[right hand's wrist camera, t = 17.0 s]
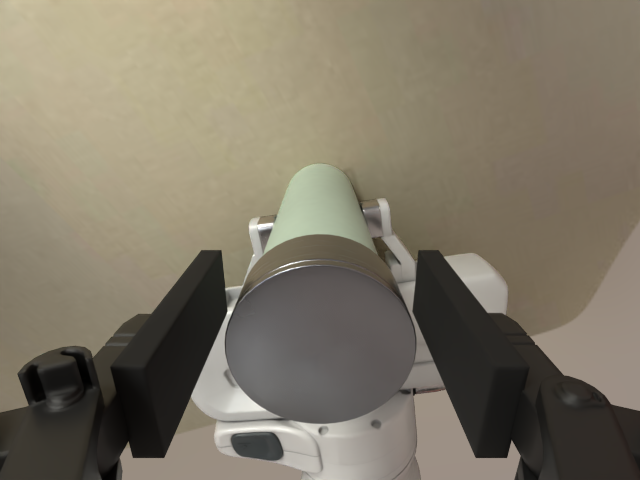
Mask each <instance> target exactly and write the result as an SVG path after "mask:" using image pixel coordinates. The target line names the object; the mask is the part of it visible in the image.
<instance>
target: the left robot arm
mask: <svg viewBox="0 0 640 480" xmlns="http://www.w3.org/2000/svg"><path fill="white" fill-rule="evenodd" d="M360 208H361V211H362V213H363V216H364V219H365V221H366V224H367V227H368V229H369V232H370V235H371V237H372V238H376V237H381V238H382V240H383V241H384V242H385V244H386V245H387V246H388V247H389V249H390V250H388V251H386V252H385V262H386V265H387V266H388V267H389V269H390V270H391V272H392V274H393V276H394V278H395V280H396V282H397V285H398V287H399V289H400V292H401V294H402V296H403V299H404V301H405V304H406V306H407V308H408V311H409V313H410V315H411V318H412V321H413V324H414V327H415V332H416V342H417V349H416V356H415V360H414V364H413V367H412V370H411V372H410V374H409V376H408V378H407V380H406V381H405V383H404V384H403V386H402V387H401V388H400V390H399V391H398V392H397V393H396V394H395V395H394V396H393V397H392V398H391V399H390V400H389V401H387V402H386V403H385V404H383V405H382V406H380V407H379V408H378V409H376V410H374V411H372V412H370V413H368V414H366V415H363V416H361V417H358V418H356V419H352V420H349V421H344V422H339V423H330V424H310V423H302V422H297V421H293V420H289V419H286V418H283V417H280V416H278V415H275V414H273V413H271V412H269V411H267V410H266V409H264V408H262V407H261V406H259V405H258V404H256V403H255V402H254V401H253V400H251V399H250V398H249V397H248V396H247V395H246V394H245V393H244V392H243V391H242V389H241V388H240V387H239V385H238V384H237V383H236V381H235V379H234V377H233V376H232V374H231V371H230V369H229V366H228V363H227V359H226V355H225V333H226V329H227V325H228V322H229V319H230V317H231V314H232V312H233V309H234V307H235V305H236V302H237V300H238V297H239V295H240V292H241V290H242V288H243V285H244V283H245V280H246V278H247V276H248V274H249V272H250V271H251V269H252V267H253V266H254V265H255V264H256V262H257V261H258V260H259V259H260V258H261V257H262V256H263V253H264V250H265V247H266V245H267V242H268V239H269V237H270V234H271V231H272V228H273V226H274V223H275V220H276V218H277V215H271V216H264V217H256V218H252V219H251V221H250V223H249V234H250V238H251V242H252V246H253V250H254V254H253V256H252V259H251V262H250V265H249V268H248V271H247V274H246V277H245V279H244V282H243V285H242V286H235V287H228V288H225V290H226V300H227V310H228V312H227V315H226V317H225V319H224V322H223V324H222V326H221V328H220V331H219V333H218V335H217V338H216V340H215V342H214V345H213V347H212V349H211V351H210V354H209V356H208V358H207V361H206V363H205V365H204V367H203V370H202V372H201V374H200V377H199V379H198V381H197V384H196V386H195V388H194V390H193V393H192V395H191V398H192V400H193V401H194V403H195V404H196V405H197V407H198V408H199V409H200V410H201V411H202V412H204V413H205V414H206V415H208V416H209V417H212V418H214V419H217V422H216V428H215V434H214V440H215V444H216V446H217V448H218V450H219V451H220V452H221V453H222V454H224V455H227V456H231V457H238V458H247V459H255V460H261V461H268V462H273V463H277V464H281V465H285V466H289V467H292V468H295V469H298V470H301V471H302V476H301V480H421V478H420V471H419V467H418V463H417V460H416V458H415V453H416V446H417V431H416V420H415V408H414V399H413V396H414V395H415V394H421V393H429V392H437V391H441V390H445V389H446V388H445V386H444V384H443V381H442V379H441V377H440V374H439V372H438V370H437V367H436V365H435V363H434V361H433V358H432V356H431V354H430V351H429V349H428V347H427V345H426V342H425V340H424V338H423V335H422V333H421V331H420V328H419V326H418V324H417V322H416V319H415V317H414V315H413V312H412V310H413V300H414V290H415V281H416V271H417V262H418V260H417V261H414V259H413V257H412V256H411V254H410V252H409V251H408V249H407V247H406V246H405V245H404V243H403V242H402V241H401V239H400V238H399V237H398V236H397V234H396V233H395V232H394V231H393V229H392V226H391V215H390V208H389V204H388V202H387V200H386V199H385V198H380V199H373V200H367V201H361V202H360ZM444 258H445V259H446V261H447V262H448V263H449V264H450V266H451V267H452V268H453V270H454V271H455V272H456V273H457V275H458V276H459V277H460V278H461V280H462V281H463V282H464V283H465V285H466V286H467V287H468V289H469V290H470V291H471V292H472V294H473V295H474V296H475V297H476V299H477V300H478V301H479V303H480V304H481V305H482V306H483V308H484V309H485V310H486V311H487V313H503V314H504V315H506V312H507V303H508V286H507V283H506V282H505V280H504V278H503V277H502V276H501V275H500V273H499V272H498V271H497V270H496V269H495V268H494V267H493V266H492V265H490V264H489V263H488V262H487V261H486V260H484V259H483V258H482V257H480V256H479V255H477V254H475V253H465V254H458V255H451V256H444Z"/></svg>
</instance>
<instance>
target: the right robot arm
mask: <svg viewBox="0 0 640 480" xmlns="http://www.w3.org/2000/svg"><path fill="white" fill-rule="evenodd" d="M227 312H228V310H227V300H226V290H225V281H224V271H223V262H222V252H221V250H201V252H200V253H199V254H198V256H197V257H196V258H195V259H194V261H193V262H192V263H191V264H190V266H189V267H188V268H187V270H186V271H185V272H184V273H183V275H182V276H181V277H180V278H179V280H178V281H177V282H176V283H175V285H174V286H173V287H172V289H171V290H170V291H169V292H168V294H167V295H166V296H165V297H164V299H163V300H162V301H161V303H160V304H159V305H158V306H157V308H156V309H155V310H154V311H153V313H152V314H138V315H136V316H135V317H133V318H131V319H130V320H128V321H127V322H125V323H123V325H122V326H121V327H120V328H119V329H118V330H117V331H116V333H115V334H114V336H113V337H111V338H110V339H109V340H108V342H107V343H106V345H105V346H103V347H102V348H101V350H100V351H99V352H98V353H97V354H96V355H95V356H94V358H92V354H91V351H90V350H88V349H87V348H85V347H80V346H70V347H62V348H58V349H55V350H52V351H48V352H46V353H44V354H42V355H40V356H38V357H36V358H34V359H33V360H31V361H30V362H29V363H27V364H26V365H24V366H23V368H22V369H21V370H20V371H19V373H18V377H19V380H20V382H21V385H22V388H23V390H24V393H25V396H26V399H27V401H28V404H29V406H27V407H24V408H19V409H15V410H10V411H6V412H1V413H0V480H122V466H121V461H120V455H121V453H122V452H123V450H124V448H125V446H126V445H127V443H128V441H129V444H130V448H131V452H132V456H133V458H164V457H165V455H166V453H167V450H168V448H169V446H170V443H171V441H172V439H173V436H174V434H175V432H176V430H177V427H178V425H179V423H180V420H181V418H182V416H183V413H184V411H185V409H186V407H187V404H188V402H189V400H190V397H191V395H192V393H193V390H194V388H195V386H196V384H197V381H198V379H199V377H200V374H201V372H202V370H203V367H204V365H205V363H206V361H207V358H208V356H209V354H210V351H211V349H212V347H213V345H214V342H215V340H216V338H217V335H218V333H219V331H220V328H221V326H222V324H223V322H224V319H225V317H226V315H227ZM412 312H413V315H414V317H415V319H416V322H417V324H418V326H419V328H420V331H421V333H422V335H423V338H424V340H425V342H426V345H427V347H428V349H429V351H430V354H431V356H432V358H433V361H434V363H435V365H436V367H437V370H438V372H439V374H440V377H441V379H442V381H443V384H444V386H445V388H446V390H447V393H448V395H449V397H450V400H451V402H452V404H453V407H454V409H455V411H456V413H457V416H458V418H459V420H460V423H461V425H462V427H463V430H464V432H465V434H466V436H467V439H468V441H469V443H470V446H471V448H472V450H473V452H474V455H475V457H476V458H507V456H508V452H509V448H510V444H511V440H512V441H513V443H514V444H515V446H516V448H517V450H518V452H519V453H520V455H521V457H520V461H519V465H518V469H517V472H516V476H515V480H640V411H637V410H632V409H628V408H624V407H619V406H615V405H611V404H610V402H609V401H608V399H607V398H606V397H605V395H603V394H602V393H601V392H600V391H598V390H597V389H596V388H595V387H593V386H591V385H589V384H587V383H586V382H584V381H582V380H579V379H576V378H573V377H570V376H564V375H563V374H562V373H561V372H560V371H559V369H558V368H557V367H556V366H555V365H554V364H553V363H552V362H551V360H550V359H549V358H548V357H547V356H546V355H545V354H544V352H543V351H542V350H541V349H540V348H539V347H538V346H537V345H535V342H534V341H533V340H532V339H531V338H530V337H529V336H527V333H526V332H525V331H524V330H523V329H522V328H521V326H520V325H519V324H518V323H517V322H516V321H514V320H512V319H511V318H509V317H508V316H506V315H504V314H503V313H487V311H486V310H485V309H484V308H483V306H482V305H481V304H480V303H479V301H478V300H477V299H476V297H475V296H474V295H473V294H472V292H471V291H470V290H469V289H468V287H467V286H466V285H465V283H464V282H463V281H462V280H461V278H460V277H459V276H458V275H457V273H456V272H455V271H454V270H453V268H452V267H451V266H450V264H449V263H448V262H447V261H446V259H445V258H444V257H443V256H442V254H441V253H440V252H439V250H419V252H418V262H417V271H416V281H415V290H414V300H413V310H412Z"/></svg>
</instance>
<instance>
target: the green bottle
mask: <svg viewBox="0 0 640 480" xmlns="http://www.w3.org/2000/svg"><path fill="white" fill-rule="evenodd" d="M313 234H329V235H336V236H341V237H345V238H348V239H351V240H354V241H356V242H358V243H361V244H362V245H364V246H366V247H367V248H369V249H371V250H372V251H373V252H374V253H376V254H377V255H378V253H377V251H376V248H375V245H374V243H373V240H372V237H371V235H370V232H369V229H368V227H367V224H366V221H365V219H364V216H363V213H362V211H361V208H360V205H359V203H358V200H357V197H356V195H355V192H354V189H353V187H352V184H351V182H350V180H349V179H348V177H347V176H346V175H345V174H344V173H343V172H342V171H341V170H340V169H338V168H336V167H334V166H332V165H329V164H320V163H319V164H312V165H309V166H306V167H304V168H302V169H301V170H299V171H298V172H297V173H296V174H295V175H294V176H293V178H292V179H291V181H290V183H289V185H288V188H287V190H286V193H285V196H284V199H283V201H282V204H281V207H280V209H279V212H278V215H277V218H276V220H275V223H274V226H273V228H272V231H271V234H270V237H269V239H268V242H267V245H266V247H265V250H264V253H263V255H264V254H265V253H266V252H268V251H269V250H271V249H272V248H274V247H275V246H277V245H279V244H281V243H283V242H285V241H287V240H290V239H293V238H296V237H300V236H305V235H313Z"/></svg>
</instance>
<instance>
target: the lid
mask: <svg viewBox="0 0 640 480" xmlns="http://www.w3.org/2000/svg"><path fill="white" fill-rule="evenodd" d="M416 349H417V342H416V332H415V327H414V324H413V321H412V318H411V315H410V313H409V311H408V308H407V306H406V304H405V301H404V299H403V296H402V294H401V292H400V289H399V287H398V285H397V282H396V280H395V278H394V276H393V274H392V272H391V270H390V269H389V267H388V266H387V265H386V263H385V262H384V261H383V260H382V259H381V258H380V257H379V256H378V255H377V254H376V253H374V252H373V251H372V250H371V249H369V248H367V247H366V246H364V245H362V244H361V243H358V242H356V241H354V240H351V239H348V238H345V237H341V236H336V235H329V234H313V235H305V236H300V237H296V238H293V239H290V240H287V241H285V242H283V243H281V244H279V245H277V246H275V247H274V248H272V249H271V250H269V251H268V252H266V253H265V254H264V255H263V256H262V257H261V258H260V259H259V260H258V261H257V262H256V264H255V265H254V266H253V267H252V269H251V271H250V272H249V274H248V276H247V278H246V280H245V283H244V285H243V288H242V290H241V292H240V295H239V297H238V300H237V302H236V305H235V307H234V309H233V312H232V314H231V317H230V319H229V322H228V325H227V329H226V333H225V355H226V359H227V363H228V366H229V369H230V371H231V374H232V376H233V377H234V379H235V381H236V383H237V384H238V385H239V387H240V388H241V389H242V391H243V392H244V393H245V394H246V395H247V396H248V397H249V398H250V399H251V400H253V401H254V402H255V403H256V404H258V405H259V406H261V407H262V408H264V409H266V410H267V411H269V412H271V413H273V414H275V415H278V416H280V417H283V418H286V419H289V420H293V421H297V422H302V423H310V424H330V423H339V422H344V421H349V420H352V419H356V418H358V417H361V416H363V415H366V414H368V413H370V412H372V411H374V410H376V409H378V408H379V407H380V406H382V405H383V404H385V403H386V402H387V401H389V400H390V399H391V398H392V397H393V396H394V395H395V394H396V393H397V392H398V391H399V390H400V388H401V387H402V386H403V384H404V383H405V381H406V380H407V378H408V376H409V374H410V372H411V370H412V367H413V364H414V360H415V356H416Z"/></svg>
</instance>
